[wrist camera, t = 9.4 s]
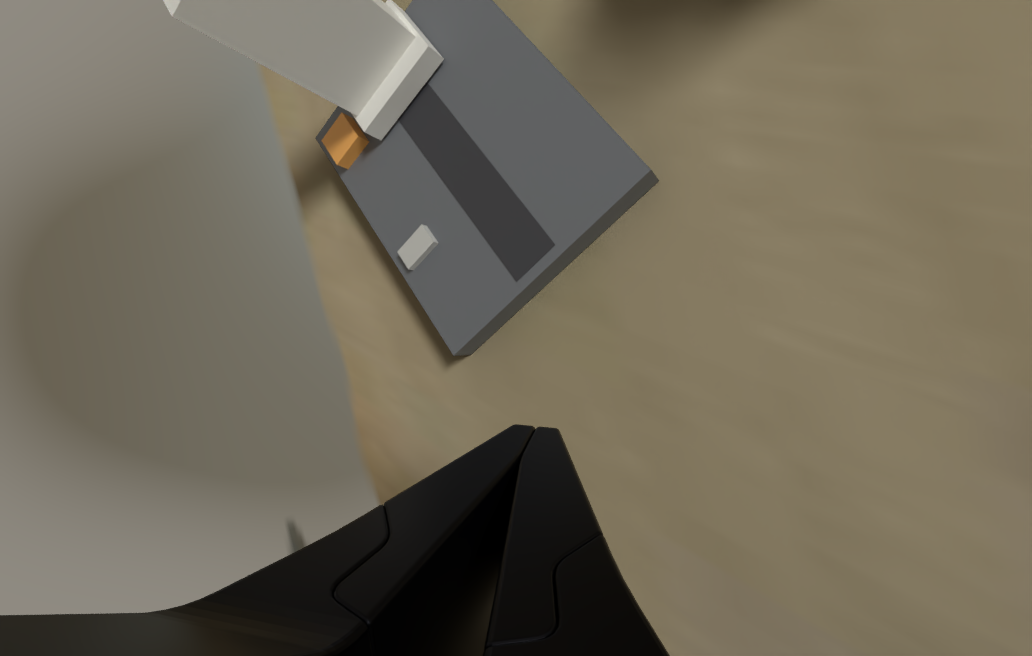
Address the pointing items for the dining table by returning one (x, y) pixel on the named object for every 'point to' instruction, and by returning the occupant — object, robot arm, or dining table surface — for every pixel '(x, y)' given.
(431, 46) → the tab
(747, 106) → the dining table surface
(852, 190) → the dining table surface
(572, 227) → the switch panel
